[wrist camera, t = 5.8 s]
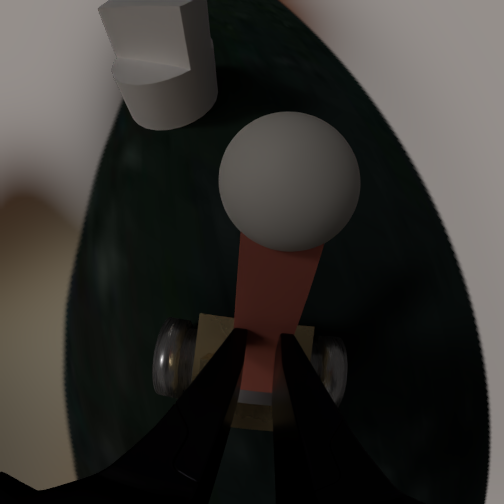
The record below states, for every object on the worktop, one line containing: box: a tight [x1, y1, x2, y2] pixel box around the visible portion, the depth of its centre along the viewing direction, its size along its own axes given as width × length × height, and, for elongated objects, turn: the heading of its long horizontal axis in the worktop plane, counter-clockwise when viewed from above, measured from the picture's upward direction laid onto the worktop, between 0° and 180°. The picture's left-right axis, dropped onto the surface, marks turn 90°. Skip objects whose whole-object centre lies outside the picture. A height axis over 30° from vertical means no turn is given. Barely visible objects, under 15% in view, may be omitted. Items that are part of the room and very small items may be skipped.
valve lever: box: [219, 112, 360, 406], centre depth 9 cm, size 3×3×12 cm
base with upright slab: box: [98, 0, 218, 130], centre depth 18 cm, size 9×9×12 cm
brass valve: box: [153, 313, 348, 431], centre depth 15 cm, size 6×10×8 cm, turn 83°
